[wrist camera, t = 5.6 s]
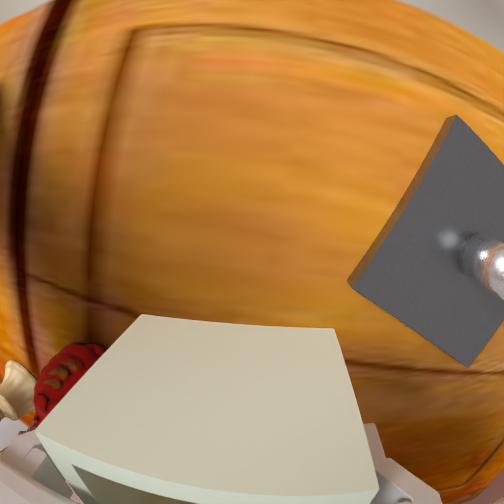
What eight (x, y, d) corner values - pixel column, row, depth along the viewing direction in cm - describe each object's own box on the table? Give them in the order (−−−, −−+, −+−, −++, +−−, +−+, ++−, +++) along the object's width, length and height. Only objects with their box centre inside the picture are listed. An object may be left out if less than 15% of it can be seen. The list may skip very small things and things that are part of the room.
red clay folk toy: (139, 401, 25) (65, 517, 10) (87, 395, 26) (11, 486, 11) (110, 333, 23) (-3, 444, 9) (58, 334, 24) (-43, 416, 10)
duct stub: (346, 280, 20) (370, 322, 13) (446, 118, 16) (498, 100, 10) (460, 359, 20) (494, 401, 14) (540, 229, 17) (588, 244, 10)
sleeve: (164, 436, 11) (118, 540, 5) (141, 314, 10) (34, 431, 4) (307, 451, 11) (311, 569, 5) (334, 328, 9) (379, 489, 3)
